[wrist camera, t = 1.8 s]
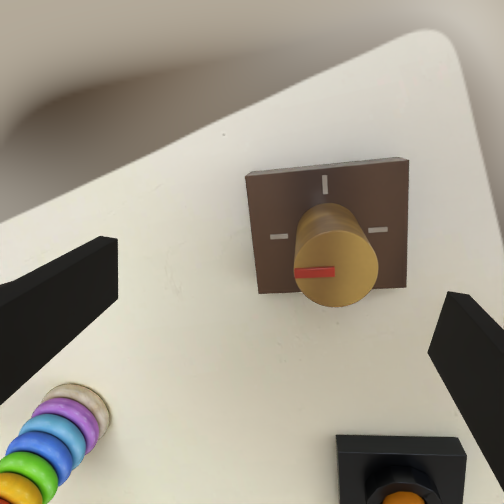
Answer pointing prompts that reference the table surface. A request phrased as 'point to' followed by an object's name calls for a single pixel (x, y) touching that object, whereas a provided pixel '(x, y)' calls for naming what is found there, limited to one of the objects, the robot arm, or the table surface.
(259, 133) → the table surface
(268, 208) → the plate
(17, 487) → the stacking toy
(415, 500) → the bell button
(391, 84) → the table surface
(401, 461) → the block
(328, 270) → the lock knob
